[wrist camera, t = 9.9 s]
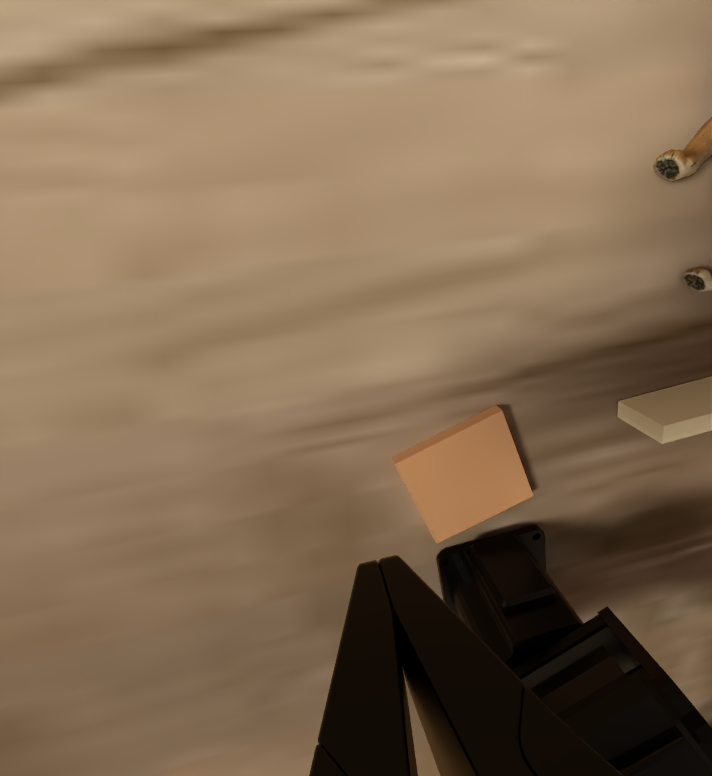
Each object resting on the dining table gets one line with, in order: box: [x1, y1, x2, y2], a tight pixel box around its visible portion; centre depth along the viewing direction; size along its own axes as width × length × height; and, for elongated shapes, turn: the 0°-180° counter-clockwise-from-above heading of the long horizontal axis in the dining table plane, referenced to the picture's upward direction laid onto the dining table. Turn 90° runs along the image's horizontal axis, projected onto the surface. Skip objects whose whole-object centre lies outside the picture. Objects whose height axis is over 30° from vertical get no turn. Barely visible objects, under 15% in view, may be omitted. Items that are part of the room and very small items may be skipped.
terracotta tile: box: [392, 405, 533, 544], centre depth 23 cm, size 6×6×1 cm
